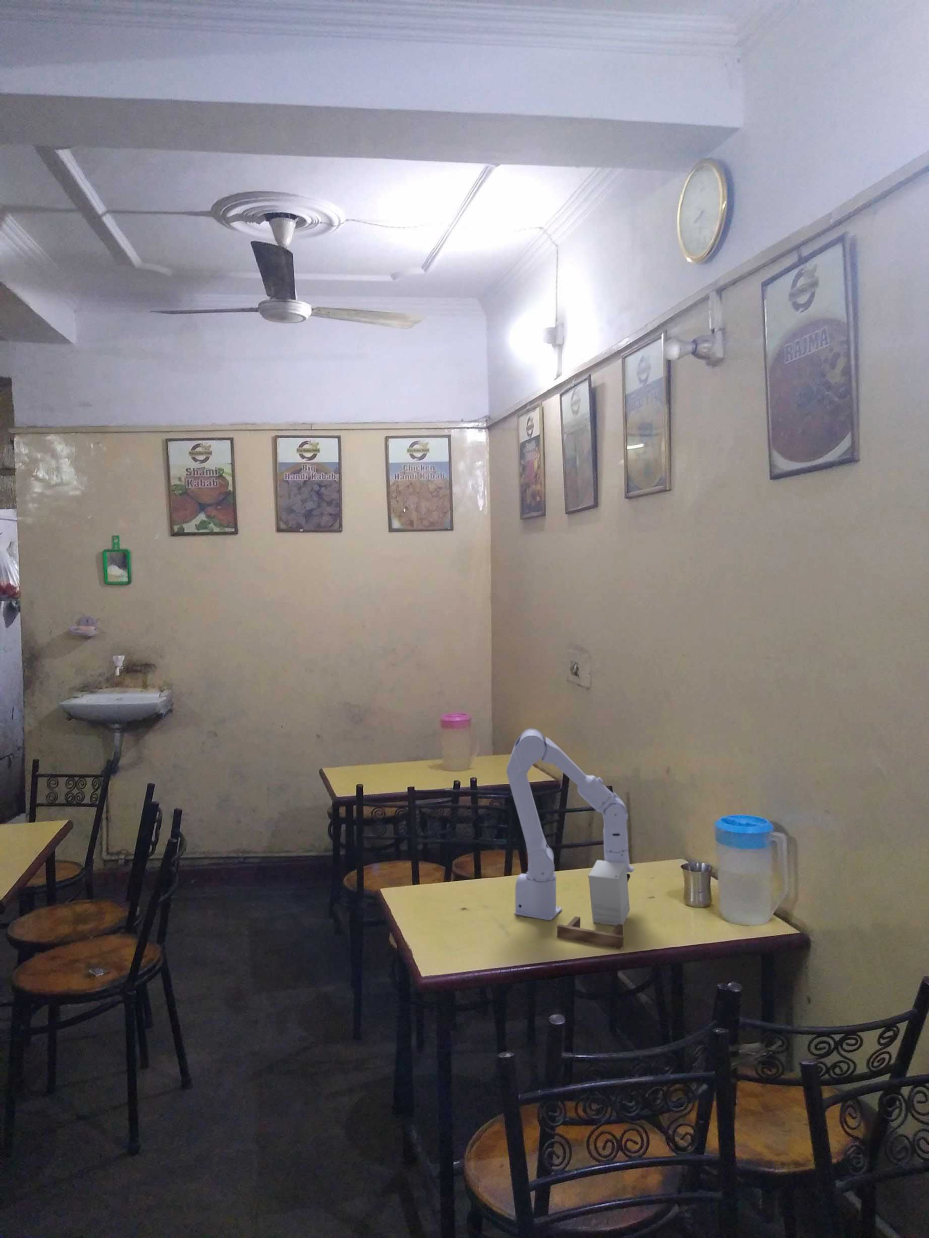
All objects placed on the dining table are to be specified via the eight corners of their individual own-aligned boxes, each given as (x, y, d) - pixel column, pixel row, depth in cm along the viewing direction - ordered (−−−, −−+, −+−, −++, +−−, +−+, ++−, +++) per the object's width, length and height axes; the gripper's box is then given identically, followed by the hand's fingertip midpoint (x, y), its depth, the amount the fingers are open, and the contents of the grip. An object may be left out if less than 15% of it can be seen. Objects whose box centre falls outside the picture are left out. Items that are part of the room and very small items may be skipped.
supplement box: (630, 910, 213) (627, 862, 210) (622, 927, 207) (618, 879, 204) (600, 905, 217) (597, 858, 213) (591, 922, 210) (587, 874, 207)
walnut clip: (557, 936, 202) (557, 925, 202) (567, 925, 208) (567, 914, 208) (621, 948, 195) (621, 937, 195) (631, 936, 202) (631, 925, 201)
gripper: (624, 859, 206) (626, 917, 206) (640, 841, 219) (642, 895, 219) (594, 857, 209) (597, 914, 209) (612, 838, 222) (614, 892, 222)
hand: (618, 904), depth 215 cm, fingers closed, pressing on supplement box
